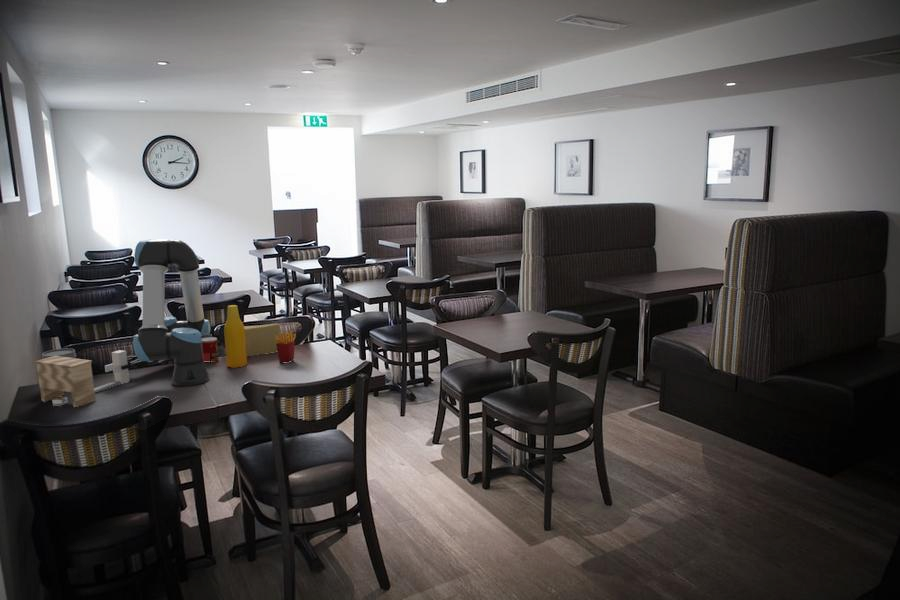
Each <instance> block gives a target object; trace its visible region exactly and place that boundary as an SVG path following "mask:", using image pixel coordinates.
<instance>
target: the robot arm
mask: <svg viewBox="0 0 900 600" xmlns="http://www.w3.org/2000/svg"><path fill="white" fill-rule="evenodd" d="M134 264H135V266H136V267H138V269H139V271H140V272H141V273H142V326H141V327H139V328H138V330H137V331H138V333H137V334H134V335H133V340H132V342H133V343H132V344H133V350H134V353H135V355H133V354H130V355H129V356H127V362H128V364H127V363H124V364H120V365H117V366H114V367H113V362H111V363H110V364H106V365H104V371H105V373H108V372H111V371H112V373H113V374H114V373H117V372H120V371H123V370H126V369H128V370H129V369H130V370H131V369H133V370H135V369H138V368H141V367H143V366H145V367H146V366H151V365H154V364H157V363H159V364H161V363H162V362H163V361H167V360H168V361H169V360H170V361H171V360H173V361H174V368H173V373H172V376H171V383H172V385H173V386H177V387H189V386H190V387H191V386H196V385H201V384H204V383H206V382H208V381H209V380H210V374H209V372H208V370H207V366H206V365H205V362H204V361H203V350H202V337H203V336H208V335H210V333H211V322H210V320H209V319H205V315H204V314H205V313H204V307H203V301H202V300H203V299H202V295H201V286H200V280H199V272H198V270H199V269H200V262H199V259H198V257H197V255H196V253H195V251H194V250H193V249H192V248H191V247H190V246H189V244H188V243H186V242H184V241H182V240H180V239H177V238H172V239H146V240H140V241H138V243H137V244H136V246H135V249H134ZM170 266H175V267H176V271H177V272H179V276H180V277H179V278H180V284H181V289H182V290H181V291H182V297H183V303H184V309H185V315H186V320H177V318H176V317H175V316H165V295H166V294H165V292H166V291H165V287H166V286H165V285H166V283H165V279H166V277H165V276H166V275H165V274H166V273H167V272H168V271H169V267H170Z"/></svg>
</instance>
